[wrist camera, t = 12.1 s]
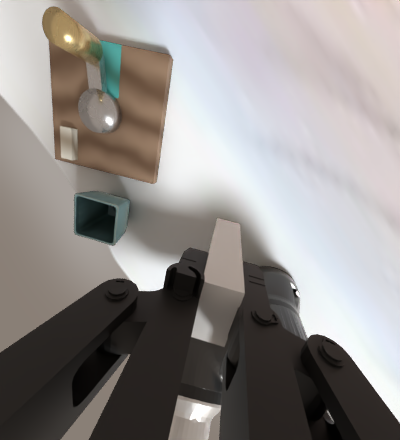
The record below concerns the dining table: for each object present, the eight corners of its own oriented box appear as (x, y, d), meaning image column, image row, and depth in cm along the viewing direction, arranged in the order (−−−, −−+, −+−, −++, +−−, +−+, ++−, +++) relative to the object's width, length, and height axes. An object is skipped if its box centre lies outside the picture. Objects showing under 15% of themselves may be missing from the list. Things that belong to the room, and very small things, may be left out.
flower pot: (139, 194, 45) (118, 205, 37) (135, 229, 48) (114, 246, 40) (102, 184, 46) (73, 192, 37) (100, 219, 49) (73, 234, 41)
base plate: (156, 182, 44) (150, 185, 40) (62, 158, 45) (49, 159, 42) (173, 59, 35) (166, 50, 32) (57, 35, 37) (40, 24, 34)
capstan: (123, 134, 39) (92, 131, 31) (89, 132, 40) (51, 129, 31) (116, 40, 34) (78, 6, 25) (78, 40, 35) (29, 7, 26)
